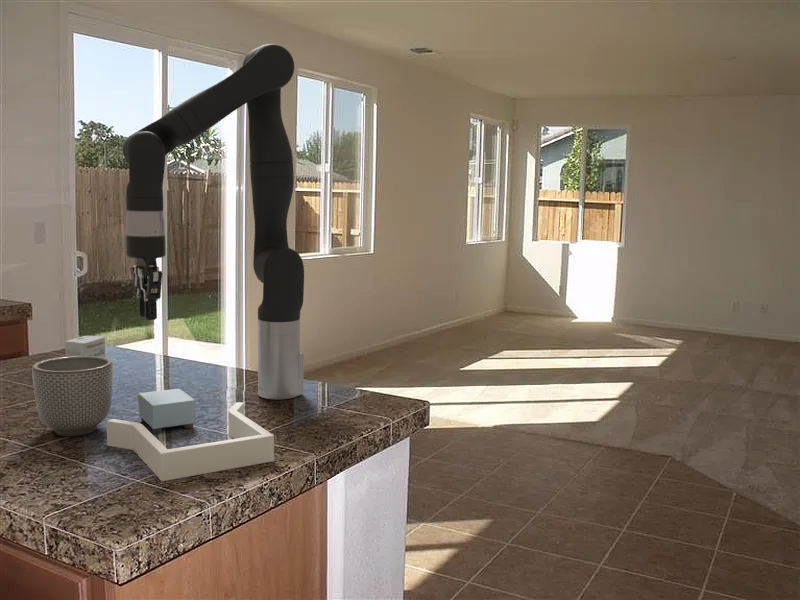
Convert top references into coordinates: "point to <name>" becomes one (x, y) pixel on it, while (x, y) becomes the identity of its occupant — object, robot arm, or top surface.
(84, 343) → the ink box
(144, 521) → the top surface
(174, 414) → the light blue box
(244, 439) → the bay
